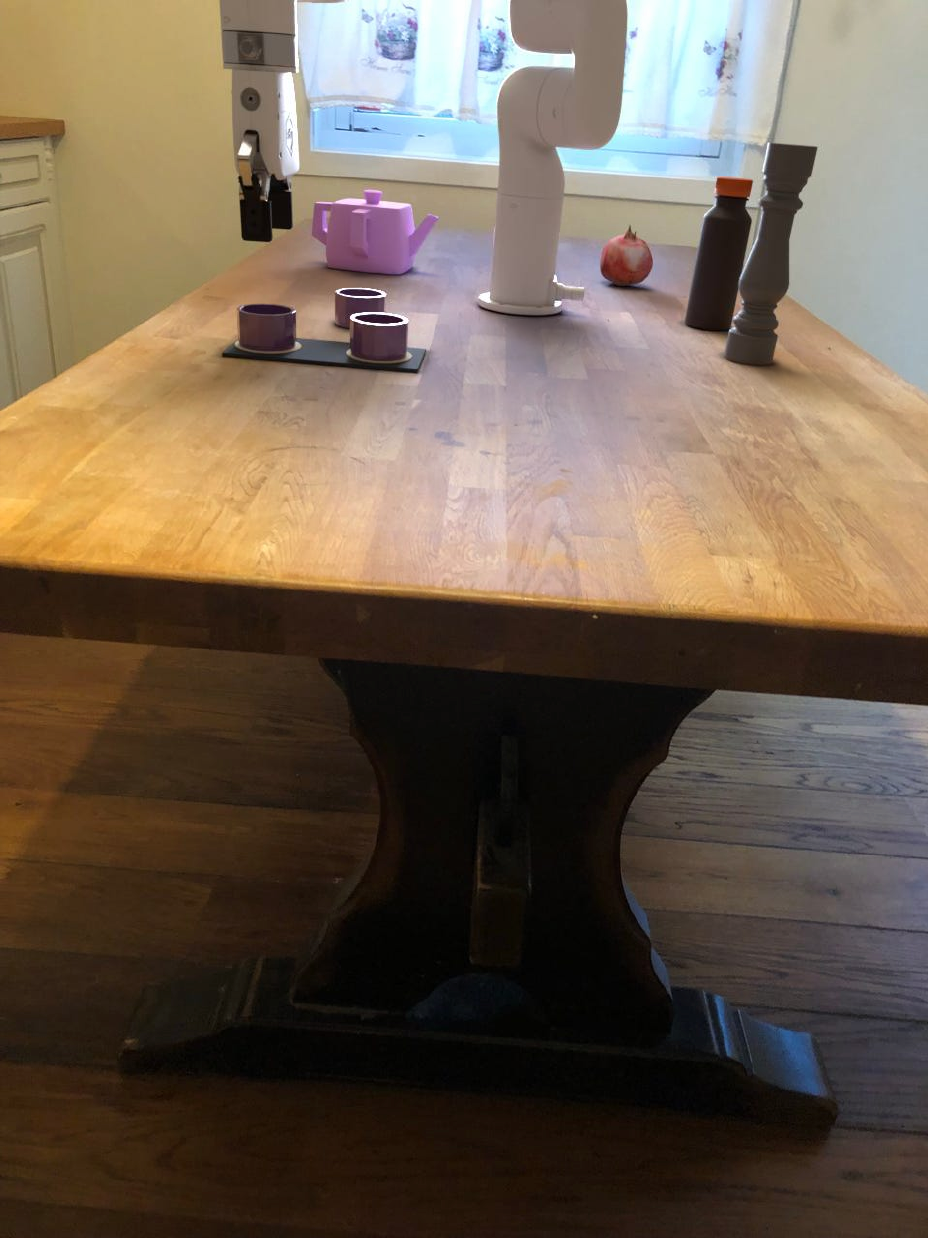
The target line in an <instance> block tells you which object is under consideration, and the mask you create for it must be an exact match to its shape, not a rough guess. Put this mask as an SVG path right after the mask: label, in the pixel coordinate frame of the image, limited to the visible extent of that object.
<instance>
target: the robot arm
mask: <svg viewBox="0 0 928 1238" xmlns="http://www.w3.org/2000/svg"><path fill="white" fill-rule="evenodd" d="M218 2H219V13H220V14H219V17H220V30H221V32H220V35H221V51H222V53H221V54H222V68H223V70H231V91H230V92H231V121H232V123H231V125H232V146H233V158H234V166H235V171H236V173H237V174H238V175H237V180H238V181H237V182H238V183H239V186H238V199H239V217H240V219H239V220H240V235H241V239H242V240H243V241H244V242H257V243H259V242H260V243H270V242H272V241H273V238H274V237H273V236H274V235H273V230H287V231H289V230H292V229H293V227H294V218H293V217H294V216H293V215H294V214H293V191H292V179H291V177H293V176H295V175H296V174H297V173H298V172H299V170H300V153H299V151H300V150H299V139H298V138H299V137H298V127H297V126H298V125H297V123H298V122H297V110H296V109H297V108H296V98H295V89H294V88H295V87H294V83H293V77H292V74H299V58H298V57H299V55H298V22H297V21H298V19H297V18H298V17H297V3H312V4H339V3H344V2H348V0H218ZM628 13H629V12H628V4H627V0H508V27H509V33H510V38H511V40H512V42H513V43H514V45H515V47H517V48H518V49H519V50H522V51H523V52H525V53H526V52H527V53H530V54H540V55H555V56H572V57H573V58H572V59H573V67H568V66H556V65H527V66H523V67H522V66H521V67H519V68H517V69H515V70H513V71H511V72H509V74H508V75H507V76H506V77H505V78H504V80H503V81H502V83H501V84H500V86H499V89H498V92H497V97H496V122H497V123H496V124H497V132H498V145H499V146H498V150H499V151H498V152H499V153H498V154H499V155H498V156H499V157H498V158H499V160H498V178H497V192H496V203H495V204H496V205H495V213H494V214H495V216H494V228H493V241H492V255H491V266H490V280H489V290H488V291H489V292H485V293H482V294H480V295H479V296H478V302H477V303H478V305H479V306H480V307H481V308H484V309H486V310H490V311H492V312H493V311H494V312H498V313H503V314H510V315H518V316H549V315H555V314H559V313H561V311H562V310H563V309H562V307H563V303H562V300H569V301H570V300H571V301H574V302H575V301H576V302H584V298H585V287H581V286H576V285H564V283H560V282H559V283H558V279H557V275H556V269H557V259H558V253H559V251H558V250H559V241H560V233H561V222H562V214H563V204H564V197H565V188H566V187H565V186H566V182H565V181H566V180H565V179H566V178H565V172H564V168H563V167H564V166H563V165H562V162H561V159H560V156H559V153H558V151H557V148H564V149H573V150H581V151H582V150H584V151H592V150H593V151H594V150H598V149H601V148H603V147H605V146H606V145H608V144H609V142H610V141H611V140H612V139H613V137H614V136H615V134H616V131H617V129H618V126H619V123H620V118H621V113H622V106H623V105H622V104H623V93H624V80H625V66H626V65H625V64H626V53H627V52H626V51H627V36H628ZM260 182H261V183H260Z"/></svg>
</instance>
